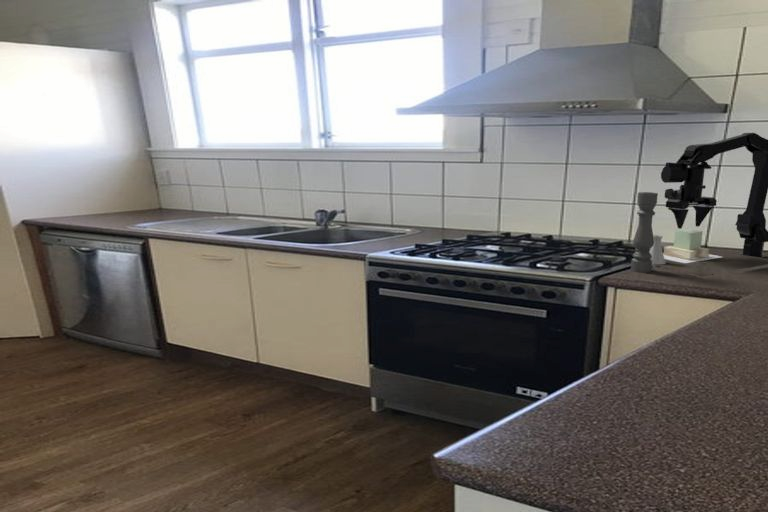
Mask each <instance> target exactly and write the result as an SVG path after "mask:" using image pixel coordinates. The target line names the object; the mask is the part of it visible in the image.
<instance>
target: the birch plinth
mask: <svg viewBox="0 0 768 512" xmlns="http://www.w3.org/2000/svg"><path fill="white" fill-rule="evenodd" d="M710 250H711V249H710V248H707V247H702V246H701V249H694V250H685V249H680V248H675V247H674V245H667V246H666V245H665V246H664V247H663V253H664V255H666V256H671V257H675V258H680V259H685V260H696V259H702V258H708V257H709V254H710Z"/></svg>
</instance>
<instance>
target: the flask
mask: <svg viewBox="0 0 768 512" xmlns="http://www.w3.org/2000/svg"><path fill="white" fill-rule="evenodd" d="M653 238H654V245H653V246H652V248H651V249H650V251H649V252H650V254H651V255H652V258H651V260H652V267H654V268H655V267H657V268H660V267H663V265H666V264H667V263H666V259H664V256H663V253H664V251H663V249H662V239H663V235H658V234H657V235H656V234H653Z"/></svg>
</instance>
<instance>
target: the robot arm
mask: <svg viewBox="0 0 768 512" xmlns="http://www.w3.org/2000/svg"><path fill="white" fill-rule="evenodd" d="M744 147H745V149H746V150H747V151H748V152H750V153H751V154H752V155H751V156H752V158H751V161H752V164H753V166H754V172H753V176H752V177H753V178H752V183H751V186H750V191H749V195H748V201H747V205H746V209H745V211H744V212H743V213H738V214H737V217H736V219H737V220H736V222H735V226H736V230H737V232H738V235H739V238H741V239H743V240H744V242H743V248H742V254H741V255H743V256H748V257H756V258H761V259H763V258H767V257H768V255H764V249H765V248H764V247H765V243H768V229H767V228H766V226H767V225H766V224H767V220H766V216H765V213H764V209H765V205H766V200H767V196H768V195H767V194H768V139H767V138H765V137H762V136H760V135H759V134H757V133H756V132H743V133H742V134H740V135H735V136H732V137H729V138H725V139H724V138H723V139H721V140H717V141H715V142H711V143H710V142H709V143H698V144H690V145H687V146H686V148H685V149H684V152H683V153H682V155H681V156H680V157H679V159H677V161H676V162H669V161H668V162H666V163H665V166H664V167H663V168H662V170H661V173H660V178H661V181H662V182H663V183H666V184H667V183H668V184H669V183H670V184H671V183H673V184H675V183H676V184H677V183H683V184H681V185H680V186H679V189H673V188H666V189H665V190H664V199H666V201H665V208H667V209H668V210H669V211H671V212H672V213H673V215H674V219H675V222H676V226H677V229H678V230H682V229H683V226H684V224H685V220H686V219H687V217H688V216H687V215H688V213H689V209H688V208H689V207H690V206H692V207H693V209H694V211H695V222H694V223H695V227H697V228H699V227H700V226H701V225H702V223H703V222H704V220H705V218H706V217H707V215H708V214H709V213H710V212H711V210H713V209H714V207H715V206H717V199H716V197H711V196H703V189H706V187H707V185H705V184H704V178H705V170H711V169H712V166H711V165H710V164H709V163H708V162H707V161H709V160H712V159H713V158H714V157H716V155H719V154H722V153H726V152H731V151H732V150H737V149H740V148H744Z"/></svg>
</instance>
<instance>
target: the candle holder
mask: <svg viewBox="0 0 768 512" xmlns="http://www.w3.org/2000/svg"><path fill="white" fill-rule="evenodd" d="M658 195H659V194H658V192H652V191H651V192H650V191H647V192H646V191H644V192H643V191H641V192H638V193H637V201H636V202H637V206H638V208H639V210H638V211H637V212H636V214H637V215H638V226H637V228H636V232H635V235H634V237H633V241H632V243H633V246H634V247H635V248H634V249H635V251H634V253H632V257H633V258H631V260H630V261H631V263H630V271H633V272H636V273H651V272H652V268H653V266H652V260H651V258H652V255H651V254H650V252H649V251H650V249H651V248H652V246H653V245H654V238H653V235H654V233H653V227H652V225H653V217H654V216H655V215H656V211H654V210H655V207H656V205H657V204H658Z"/></svg>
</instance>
